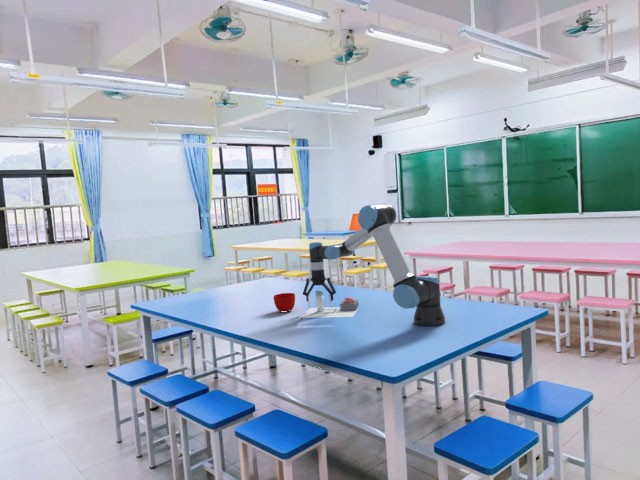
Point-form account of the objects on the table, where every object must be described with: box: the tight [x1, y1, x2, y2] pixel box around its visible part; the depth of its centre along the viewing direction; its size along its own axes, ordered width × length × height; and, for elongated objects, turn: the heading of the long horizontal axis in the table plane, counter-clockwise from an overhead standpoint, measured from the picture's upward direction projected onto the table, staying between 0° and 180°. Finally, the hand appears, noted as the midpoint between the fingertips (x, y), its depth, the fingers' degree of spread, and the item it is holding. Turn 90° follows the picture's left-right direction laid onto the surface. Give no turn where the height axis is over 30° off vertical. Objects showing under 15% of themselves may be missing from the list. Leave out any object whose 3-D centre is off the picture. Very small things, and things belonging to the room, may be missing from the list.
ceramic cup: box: [273, 292, 296, 312], centre depth 279 cm, size 13×17×10 cm
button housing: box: [339, 299, 360, 312], centre depth 266 cm, size 9×9×4 cm
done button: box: [344, 296, 354, 303], centre depth 266 cm, size 5×5×4 cm
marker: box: [315, 289, 325, 312], centre depth 265 cm, size 4×4×12 cm
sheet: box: [298, 306, 360, 319], centre depth 262 cm, size 24×30×1 cm
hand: (320, 306), depth 265 cm, fingers open, 12 cm apart
